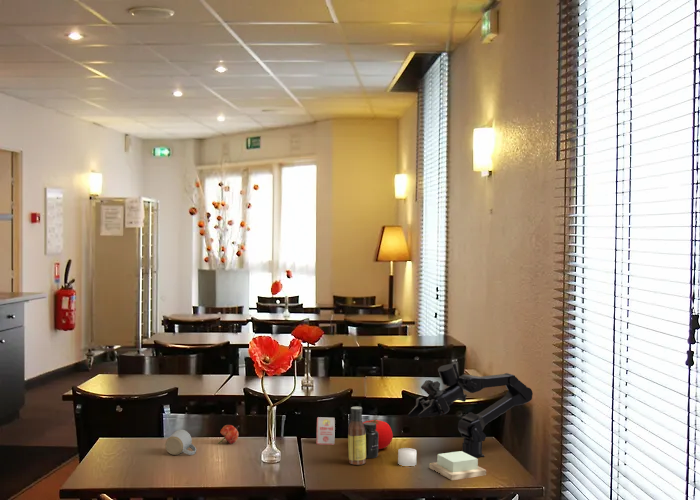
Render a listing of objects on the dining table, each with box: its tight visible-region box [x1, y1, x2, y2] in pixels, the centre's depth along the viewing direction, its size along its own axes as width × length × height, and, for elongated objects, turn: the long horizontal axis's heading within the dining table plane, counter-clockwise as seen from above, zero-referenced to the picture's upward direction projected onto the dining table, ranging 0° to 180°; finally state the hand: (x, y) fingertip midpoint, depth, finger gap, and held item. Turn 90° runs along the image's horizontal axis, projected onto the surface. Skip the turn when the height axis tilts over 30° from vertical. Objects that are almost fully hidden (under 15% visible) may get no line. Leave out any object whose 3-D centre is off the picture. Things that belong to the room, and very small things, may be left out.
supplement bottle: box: [363, 422, 379, 459], centre depth 290 cm, size 7×7×12 cm
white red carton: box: [315, 416, 336, 446], centre depth 306 cm, size 4×7×10 cm, turn 88°
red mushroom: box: [217, 424, 240, 445], centre depth 304 cm, size 7×7×10 cm
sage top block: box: [436, 450, 479, 472], centre depth 274 cm, size 10×10×4 cm
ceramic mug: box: [164, 429, 197, 456], centre depth 290 cm, size 11×8×8 cm
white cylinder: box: [397, 447, 418, 467], centre depth 281 cm, size 6×6×5 cm
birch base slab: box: [429, 461, 487, 481], centre depth 274 cm, size 14×14×2 cm
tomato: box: [362, 419, 394, 450], centre depth 301 cm, size 14×13×10 cm
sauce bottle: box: [347, 406, 367, 466], centre depth 281 cm, size 6×6×20 cm
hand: (413, 416), depth 282 cm, fingers open, 9 cm apart
